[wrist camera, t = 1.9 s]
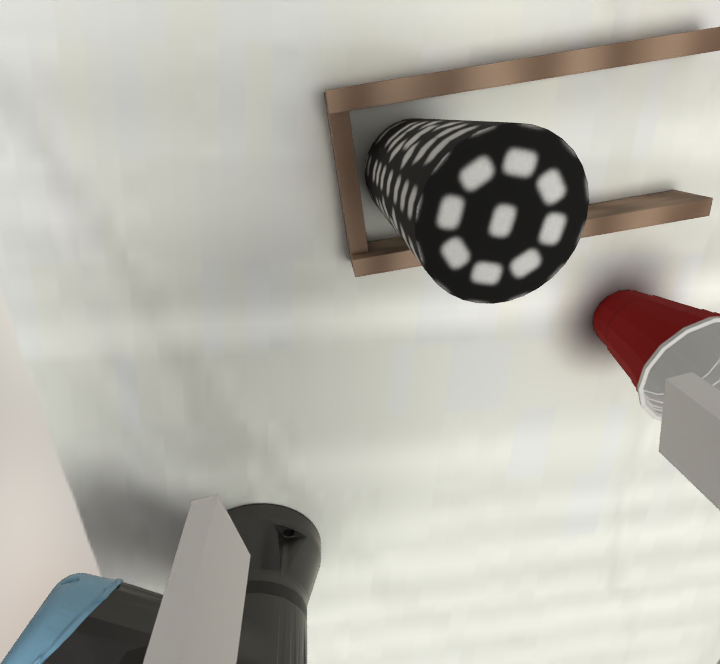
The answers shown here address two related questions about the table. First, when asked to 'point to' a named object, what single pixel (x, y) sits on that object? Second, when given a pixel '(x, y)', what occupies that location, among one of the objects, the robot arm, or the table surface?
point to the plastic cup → (658, 342)
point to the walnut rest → (342, 100)
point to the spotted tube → (480, 202)
